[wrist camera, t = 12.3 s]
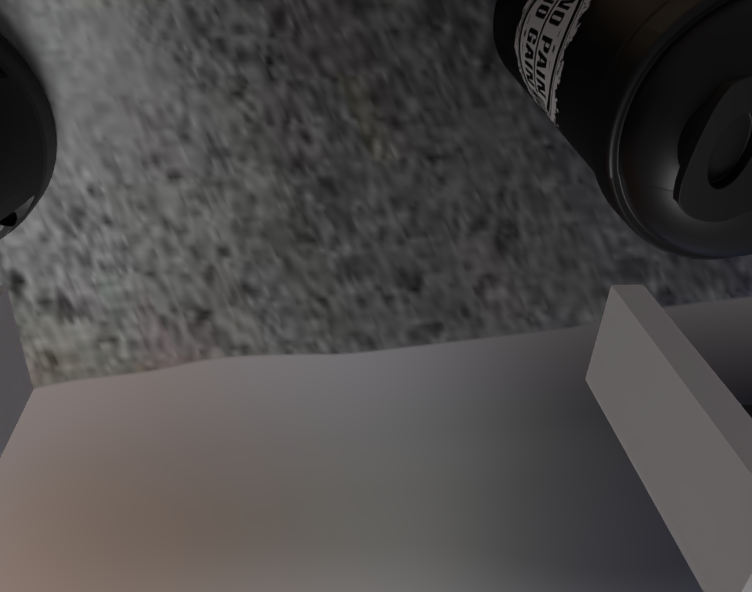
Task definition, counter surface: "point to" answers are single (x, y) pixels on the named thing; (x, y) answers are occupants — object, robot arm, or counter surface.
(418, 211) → the counter surface
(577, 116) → the water bottle
